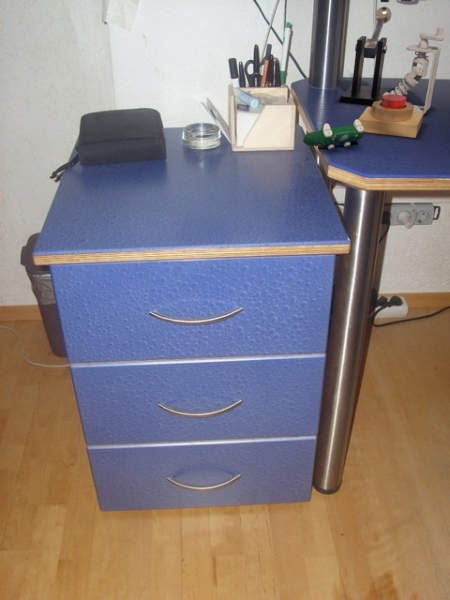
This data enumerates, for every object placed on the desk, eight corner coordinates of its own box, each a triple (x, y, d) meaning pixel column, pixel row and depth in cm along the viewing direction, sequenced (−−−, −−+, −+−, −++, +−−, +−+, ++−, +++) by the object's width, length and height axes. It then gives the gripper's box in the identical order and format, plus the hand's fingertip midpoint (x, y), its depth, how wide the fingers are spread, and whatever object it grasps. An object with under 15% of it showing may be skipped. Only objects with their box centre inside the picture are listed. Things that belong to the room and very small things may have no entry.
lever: (376, 17, 124) (377, 2, 121) (392, 18, 123) (393, 3, 120) (361, 59, 118) (361, 45, 115) (377, 60, 117) (378, 46, 114)
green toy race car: (307, 159, 98) (321, 142, 92) (300, 137, 98) (314, 119, 92) (356, 151, 100) (373, 134, 94) (349, 131, 101) (366, 112, 95)
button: (406, 105, 104) (407, 95, 103) (402, 111, 101) (404, 101, 100) (383, 103, 105) (384, 93, 105) (379, 109, 102) (380, 99, 101)
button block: (421, 124, 107) (425, 102, 105) (415, 138, 101) (419, 114, 98) (366, 118, 110) (368, 96, 108) (356, 131, 104) (359, 108, 102)
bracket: (350, 90, 127) (357, 33, 121) (388, 93, 124) (397, 35, 118) (340, 102, 119) (346, 41, 113) (380, 106, 117) (388, 44, 110)
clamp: (384, 103, 118) (396, 21, 110) (433, 109, 115) (449, 24, 106) (378, 108, 115) (390, 24, 107) (428, 115, 112) (444, 28, 103)
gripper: (359, -102, 110) (348, 2, 119) (433, -102, 106) (415, 6, 115) (366, -102, 116) (356, -2, 125) (437, -102, 111) (420, 1, 121)
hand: (384, 1), depth 120 cm, fingers closed
